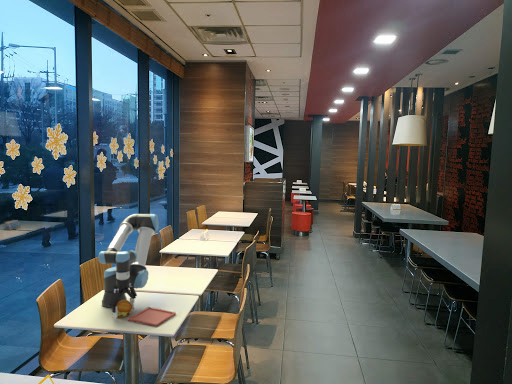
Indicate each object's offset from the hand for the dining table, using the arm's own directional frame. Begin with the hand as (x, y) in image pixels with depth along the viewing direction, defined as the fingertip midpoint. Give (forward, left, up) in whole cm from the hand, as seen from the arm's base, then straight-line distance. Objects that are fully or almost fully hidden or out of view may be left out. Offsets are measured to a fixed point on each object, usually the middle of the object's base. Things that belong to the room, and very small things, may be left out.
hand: (123, 313), depth 219 cm
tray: (+18, +4, -1) cm, 18 cm away
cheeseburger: (0, 0, -2) cm, 2 cm away
